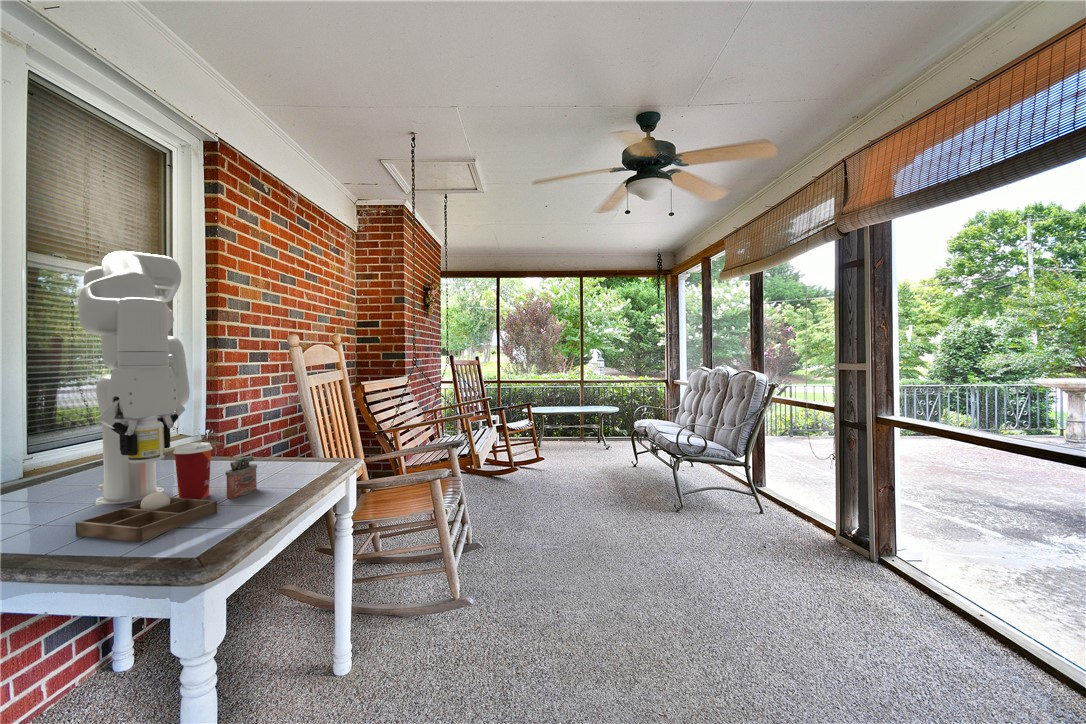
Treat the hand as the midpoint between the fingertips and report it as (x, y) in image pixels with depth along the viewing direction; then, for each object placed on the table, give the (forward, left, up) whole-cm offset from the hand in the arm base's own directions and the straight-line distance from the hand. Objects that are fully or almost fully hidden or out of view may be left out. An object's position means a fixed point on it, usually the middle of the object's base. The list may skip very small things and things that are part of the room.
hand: (146, 450), depth 88 cm
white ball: (-8, +7, -16) cm, 19 cm away
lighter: (-2, +23, -17) cm, 29 cm away
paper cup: (-11, +18, -17) cm, 28 cm away
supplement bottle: (0, 0, -2) cm, 2 cm away
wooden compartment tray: (-4, +3, -17) cm, 18 cm away
